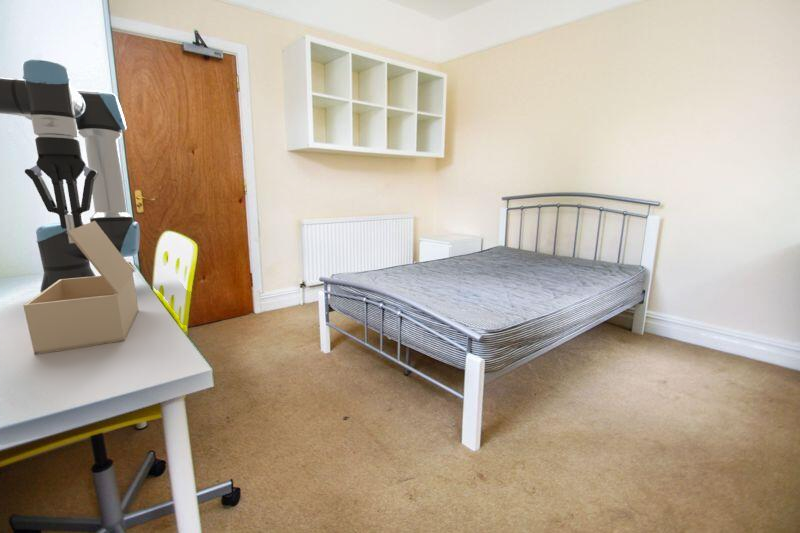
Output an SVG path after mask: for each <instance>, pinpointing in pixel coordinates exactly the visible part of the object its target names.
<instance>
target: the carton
mask: <svg viewBox="0 0 800 533" xmlns="http://www.w3.org/2000/svg"><path fill="white" fill-rule="evenodd" d="M22 306H23V309H24V314H25V317H26V323H27V328H28V332H29V335H30V341H31V345H32V349H33V350H32V351H33V355H42V354H47V353H52V352H59V351H66V350H73V349H80V348H86V347H93V346H99V345H105V343H106V344H112V343H118V342H119V343H120V342H125V340H126V338H127V336H128V334H129V332H130V330H131V328H132V325H133V324H134V322H135V319H136V317H137V315H138V313H139V304H138V297H137V292H136V286H135V280H134V274H132V275H131V276H130V278H129V279H128V281H127V282H126V283H125V285H124V286H123V288H122V289H121V290H120V292H119V293H118V294H116V293H115V292H114V290H113V289H112V288H111V287H110V286H109V284H108V283H107V282H106V281H105V279H104V278H103V277H102V276H101V275H95V276H93V277H82V278H71V279H60V280H58V281H57V282H55V283H54V284H53V285H51V286H50V287H48V288H47V289H46V290H44V291H43V292H40V293H38V294H37V295H36V296H34V297H33V298H31V299H30V300H29V301H27V302H26V303H25V304H23V305H22Z"/></svg>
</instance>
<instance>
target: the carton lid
mask: <svg viewBox="0 0 800 533" xmlns="http://www.w3.org/2000/svg"><path fill="white" fill-rule="evenodd" d="M66 233H67V234H68V235H69V236H70V238H71V239H72V240H73V241H74V242H75V244H76V245H77V246H78V247H79V249H80V250H81V251H82V252H83V254H84V255H85V256H86V257H87V258H88V260H89V263H91V265H92V266H93V267H94V268H95V269H96V271H97V272H98V274H99V275H100V276H102V277H103V278H104V279H105V281H106V282H107V283H108V284H109V286H110V287H111V288H112V289H113V290H114V292H115V293H116V294H118V293H119V292H120V290H121V289H122V288H123V286H124V285H125V283H126V282H127V281H128V279H129V278H130V276H131V275H132V274H133V273H134V272H135V271H134V269H133V268H132V267H131V265H130V264H129V263H128V262H127V260H126V259H125V257H123V256H122V255H121V254H120V253H119V251H118V250H117V249H116V247H115V246H114V245H113V243H112V242H111V241H110V240H109V238H108V237H107V236H106V234H105V233H104V232H103V230H102V229H101V228H100V227H99V225H98V224H97V223H96V221H93V222H88V223H86V224H85V225H83V226H80V227H78V228H75V229H72V230H70V231H67V232H66ZM133 275H134V274H133Z"/></svg>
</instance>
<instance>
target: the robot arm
mask: <svg viewBox="0 0 800 533" xmlns="http://www.w3.org/2000/svg"><path fill="white" fill-rule="evenodd" d="M22 73H23V75H22V79H17V78H6V77H5V78H4V77H0V114H4V115H5V114H6V115H12V116H19V117H24V118H25V119H28V120H30V121H31V123H32V129H33V133H34V135H36V136H37V137H36V138H34V140H35V146H36V153H37V161H36V162H35V163H36V165H34V166H32V167H31V168H26V169H25V170H24V174H26V175H27V176H28V177H29V178H30V179H31V180H32V182H33V184H34V186H35V188H36V191H37V192H38V194H39V196H40V198H41V201H42V202H43V204H44V206H45V209H46V210H47V211H48V212H49V213H52V214H53V213H54V214H56V215H58V216H59V221H60V222H54V223H49V224H45V225H40V226H39V227H37V229H36V230H35V231H36V232H35V235H36V243H37V248H38V250H39V256H40V260H41V265H42V269H43V276H42V280H41V281H42V282H41V286H40V289H39V290H40V293H41V292H43V291H44V290H46V289H47V288H48V287H50V286H51V285H53V284H54V283H55V282H57V281H58V280H60V279H71V278H82V277H93V276H96V274H95V272H94V271H93V269H92V268H91V265H90V263H91V262H90V261H89V260H88V258H87V257H86V256H85V255H84V254H83V252H82V251H81V250H80V249H79V247H78V246H77V245H76V244H75V242H74V241H73V240H72V239H71V238H70V236H69V235H68V234H67V233H66V232H67V231H70V230H72V229H75V228H78V227H80V226H83V225H85V224H84V222H83V221H82V213H86V212H89V211H90V210H91V204H92V202H93V208H94V214H92V215H91V216H90V217H89V220H90V222H93V221H96V223H97V224H98V225H99V227H100V228H101V229H102V230H103V232H104V233H105V234H106V236H107V237H108V238H109V240H110V241H111V242H112V243H113V245H114V246H115V247H116V249H117V250H118V251H119V253H120V254H121V255H122V256H123V258H126V257H127V258H128V257H134V256H136V255H137V254H138V252H139V250H140V240H141V231H140V224H139V222H137V221H134V216H132V215H131V214H129V213H128V212H127V211H128V210H127V205H126V197H125V190H124V183H123V182H124V180H123V176H122V168H121V161H120V160H121V159H120V152H119V146H118V140H119V139H120V138H121V137H123V136H122V135H123V134H122V131H126V130H127V124H126V120H125V116H124V113H123V109H122V106H121V104H120V101H119V99H118V97H117V96H116V95H115V93H113V92H108V91H101V90H99V89H97V90H94V89H92V90H90V89H89V90H88V89H77V88H75V87H73V86H71V81H72V80H71V79H70V77H69V71H68V69H67V68H66V66H64V65H63V64H60V63H57V62H53V61H49V60H42V59H41V60H40V59H27V60H24V61H23V62H22ZM79 136H81V137H82V138H83V139H84V145H85V151H86V158H87V165H88V166H86V162H85V161H84V160H83V158H82V150H81V144H80V141H79V140H78V139H76V138H78V137H79ZM43 173H44V174H45V175H46V176H47V177H48V178H49V179H50V180H51V184H52V187H53V192H54V198H55V201H54V199H53V196H52V194H51V192H50V191H49V188H48V187H47V184H46V182H45V180H44V178H43V177H42V176H43ZM82 173H83V175H84V177H85V179H84V184H83V189H82V190H83V191H82V197H81V203H80V197H79V191H78V182H77V181H78V178H79V177H80V175H81V174H82ZM64 180H65V184H66V186H67V187H66V188H67V192H68V200H69V206H70V210H71V211H70V212H69V211H68V210H69V209H68V205H67V204H68V203H67V198H66V193H65V187H64ZM55 202H56V203H55ZM90 222H89V223H90Z"/></svg>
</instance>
